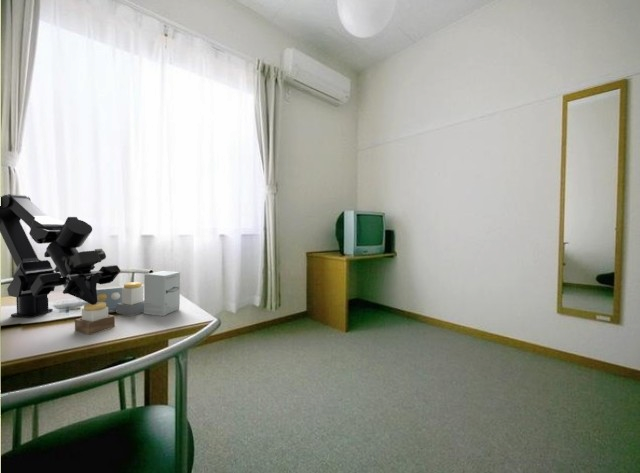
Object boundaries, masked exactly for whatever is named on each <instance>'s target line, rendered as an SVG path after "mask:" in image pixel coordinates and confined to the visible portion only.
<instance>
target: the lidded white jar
mask: <svg viewBox="0 0 640 473" xmlns="http://www.w3.org/2000/svg"><path fill="white" fill-rule="evenodd" d="M108 315H109V311H108V307H106V303H105V302H97V303H96V304H94V305H92V304H90V303H86V304H84V306H83V308H81V318H82V320H85V321H89V322H93V321H97V320H100V319H103V318H107V317H108Z"/></svg>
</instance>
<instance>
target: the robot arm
mask: <svg viewBox="0 0 640 473" xmlns="http://www.w3.org/2000/svg"><path fill="white" fill-rule="evenodd" d="M0 197H1V206H0V234H1V236H2V239H3V241H4V243H5V245H6V247H7V250H8V251H9V253H10V256H11V258H12V259H13V260H12V261H13V262H14V265H15V266H16V268H15V270H14V273H13V275H12V278H13V279H12V280H11V282H10V284H9V285H8V287H7V288H6V291H7V295H8V296H9V297H13V298H15V299H16V312H15V313H10V317H15V318H16V317H17V318H18V317H20V318H34V317H37V316H40V315H44V314H47V313H49V312H52V311H53V308H49V297H48V295H50V293H51V292H54V291H55V288H56V287H61V286H62V287H63V290H62V294H64V295H65V294H66V295H70V296H73V297H75V298H77V299H80V300H82V301H83V302H86V303H87V304H89V303H90V304H92V305H94V304H96V303H97V291H96V289H97V284H98V285H105V284H110V283H112V282H114V280H115V279H116V278H117V276H118V275H120V273H121V271H122V269H120V267H119V266H118V265H117V264H110V265H103V266H101V267H100V269H98V271H95V272H92V271H93V270H94V269H95V268H96V266H95V265H96V264H98V263H101V262H102V261H104V260H106V258H107V255H106V253H105V251H104V250H103V249H102V248H95V249H94V250H87V251H85V250H84V251H78V248H80V247H82V246H83V245H84V243H85V242H86V241H87V239H88V237H89V236H90V235H91V233H92V232H93V226H92V225H91V224H89V223H87V222H86V221H84V220H82V219H78V217H77V216H68V217H67V218H66V219H65V222H64V221H61V220H60V219H56V218H54V217H50V216H48V215H47V214H46V213H45V212H43V210H41V208H40V207H38V205H36V204H35V203H33V201H31V197H30V196H27V195H24V194H23V195H22V194H14V193H13V194H11V193H10V194H9V193H7V194H4V195H2V196H0ZM21 220H22V222H23V223H25V224H26V225H27V226H28V227H29V228H30V229H29V232H28V234H29V235H30V237H31V239H32V240H33V241H34V242H35V243H36V244H38V245H39V244H44V245H45V244H47V247H46V249H45V252H44V256H43V257H45V258H50V259H51V260H52V262H53V263H54V265H55V267H54V268H53V267H52V264H51V262H50V260H48V259H44V260H41V259H40V258H39V257H38V256H37V254H36V251H35V249H34V247H33V246H32V243H31V242H30V238H28V235H27V233H26V231H25V229H24V228H23V226H22V224H21Z"/></svg>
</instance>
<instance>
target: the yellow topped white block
mask: <svg viewBox="0 0 640 473" xmlns="http://www.w3.org/2000/svg"><path fill="white" fill-rule="evenodd" d="M142 284H143V283H142V282H140V281H133V282H132V281H131V282H126V283H124V284H123V286H121V287H122V303H123V304H128V305H133V304H137V303H140V302H143V300H144V285H142Z"/></svg>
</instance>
